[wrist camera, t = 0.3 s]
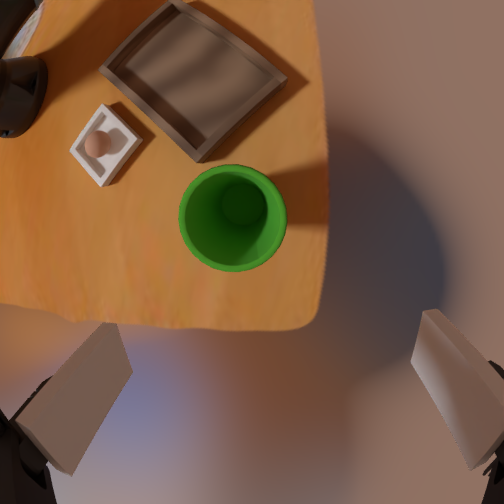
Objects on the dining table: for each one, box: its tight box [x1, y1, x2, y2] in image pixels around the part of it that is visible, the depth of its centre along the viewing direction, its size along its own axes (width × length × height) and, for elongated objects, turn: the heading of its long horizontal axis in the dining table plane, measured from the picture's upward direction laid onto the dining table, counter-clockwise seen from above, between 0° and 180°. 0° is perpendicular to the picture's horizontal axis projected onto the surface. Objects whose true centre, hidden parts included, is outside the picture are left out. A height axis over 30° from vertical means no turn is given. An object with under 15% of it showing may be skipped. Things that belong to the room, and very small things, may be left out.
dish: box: [69, 104, 143, 187], centre depth 31 cm, size 8×8×2 cm
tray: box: [98, 0, 288, 163], centre depth 27 cm, size 20×14×3 cm
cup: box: [178, 164, 287, 272], centre depth 28 cm, size 9×9×11 cm
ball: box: [85, 130, 111, 158], centre depth 29 cm, size 4×4×4 cm
